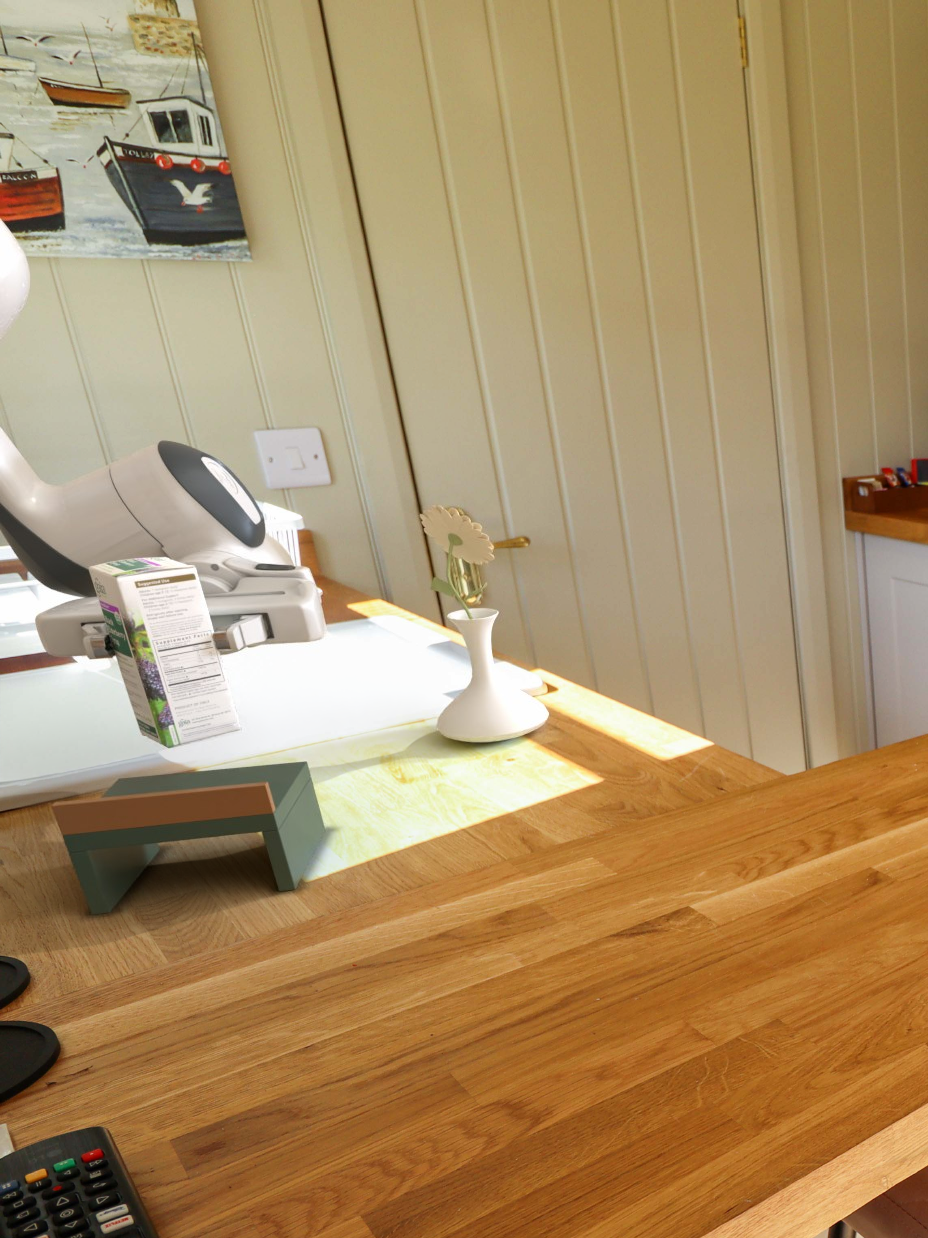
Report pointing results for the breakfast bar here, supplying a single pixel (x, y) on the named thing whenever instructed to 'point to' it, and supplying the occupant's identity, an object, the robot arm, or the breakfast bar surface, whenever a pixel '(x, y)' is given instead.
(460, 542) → the flower in vase
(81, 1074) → the breakfast bar surface
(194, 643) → the syrup box
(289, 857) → the shelf
